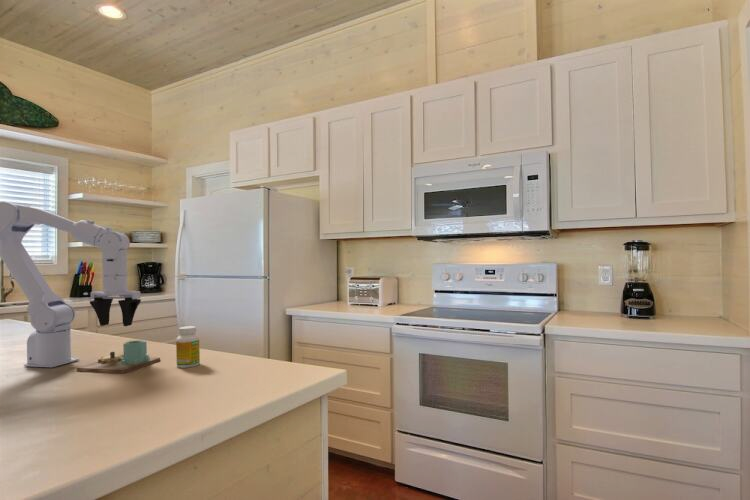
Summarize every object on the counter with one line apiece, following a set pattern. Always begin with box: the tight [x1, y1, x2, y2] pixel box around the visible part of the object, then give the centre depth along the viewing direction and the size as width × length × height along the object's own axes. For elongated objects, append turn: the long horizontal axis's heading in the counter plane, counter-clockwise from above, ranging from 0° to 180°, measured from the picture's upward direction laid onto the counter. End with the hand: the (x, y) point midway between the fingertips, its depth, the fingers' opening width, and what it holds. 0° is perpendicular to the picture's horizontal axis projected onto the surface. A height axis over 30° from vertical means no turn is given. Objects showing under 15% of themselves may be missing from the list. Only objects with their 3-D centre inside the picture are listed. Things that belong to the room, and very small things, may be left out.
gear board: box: [76, 351, 161, 374], centre depth 109 cm, size 14×12×4 cm
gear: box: [121, 339, 150, 365], centre depth 109 cm, size 7×7×5 cm
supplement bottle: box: [175, 325, 201, 369], centre depth 108 cm, size 5×5×10 cm
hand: (116, 325), depth 115 cm, fingers open, 7 cm apart
